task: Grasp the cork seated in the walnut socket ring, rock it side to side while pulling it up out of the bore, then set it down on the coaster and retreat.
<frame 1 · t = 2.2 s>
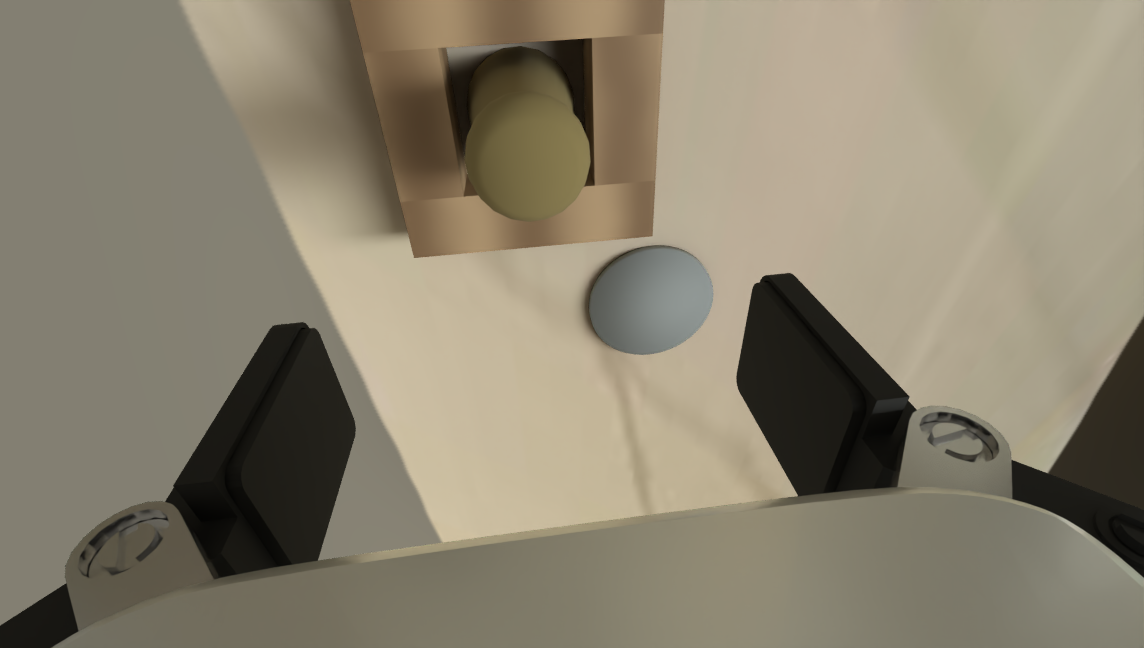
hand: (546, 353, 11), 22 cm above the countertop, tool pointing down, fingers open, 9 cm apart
cork: (520, 105, 29), resting in socket ring
coaster: (649, 301, 38), on the countertop
socket ring: (521, 106, 29), on the countertop
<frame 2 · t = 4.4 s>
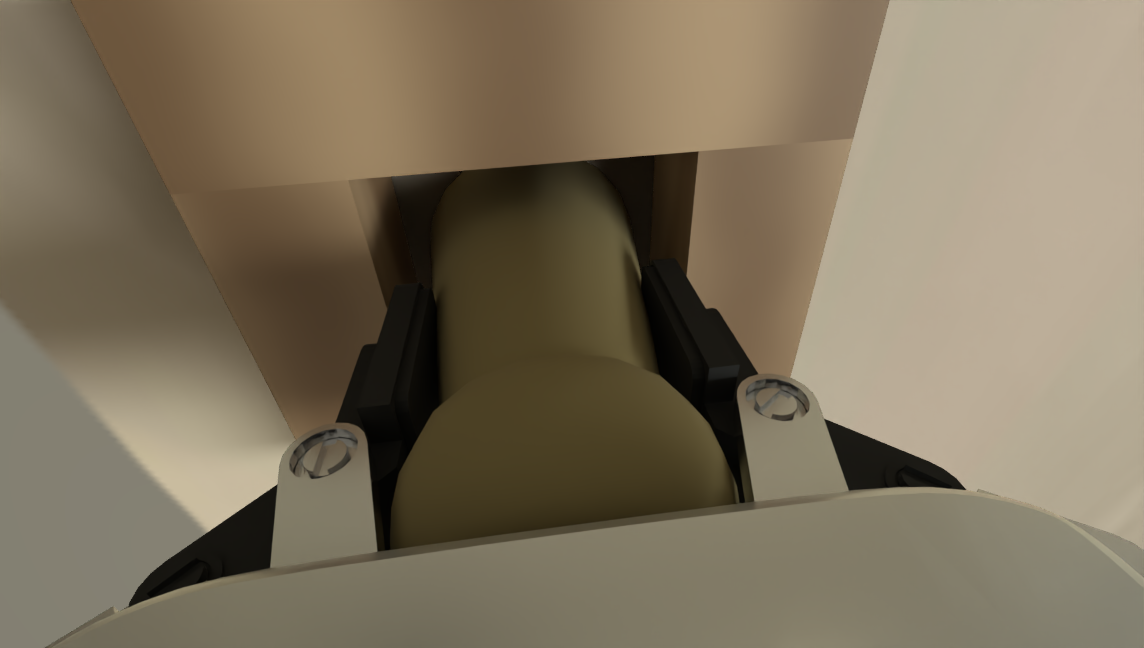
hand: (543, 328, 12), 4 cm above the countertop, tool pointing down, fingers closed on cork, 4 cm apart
cork: (532, 245, 16), resting in socket ring, touching gripper
socket ring: (533, 247, 16), on the countertop
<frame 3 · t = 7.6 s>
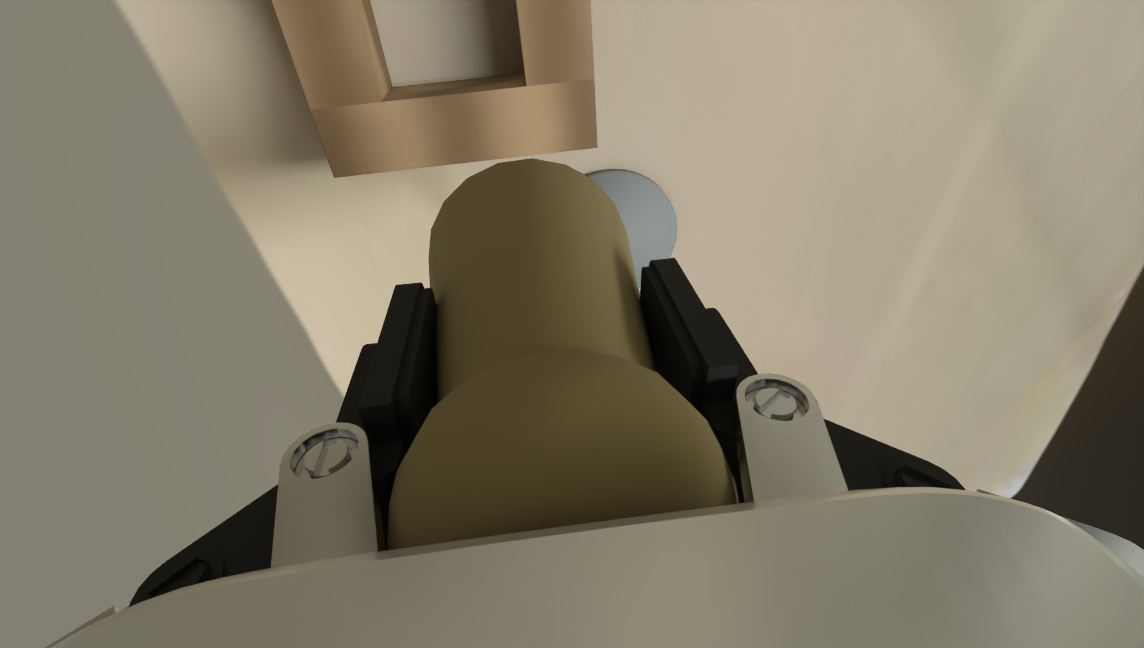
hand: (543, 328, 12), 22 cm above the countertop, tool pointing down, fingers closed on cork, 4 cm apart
cork: (530, 256, 16), point 17 cm above the countertop, touching gripper
coaster: (609, 235, 35), on the countertop
socket ring: (444, 3, 26), on the countertop
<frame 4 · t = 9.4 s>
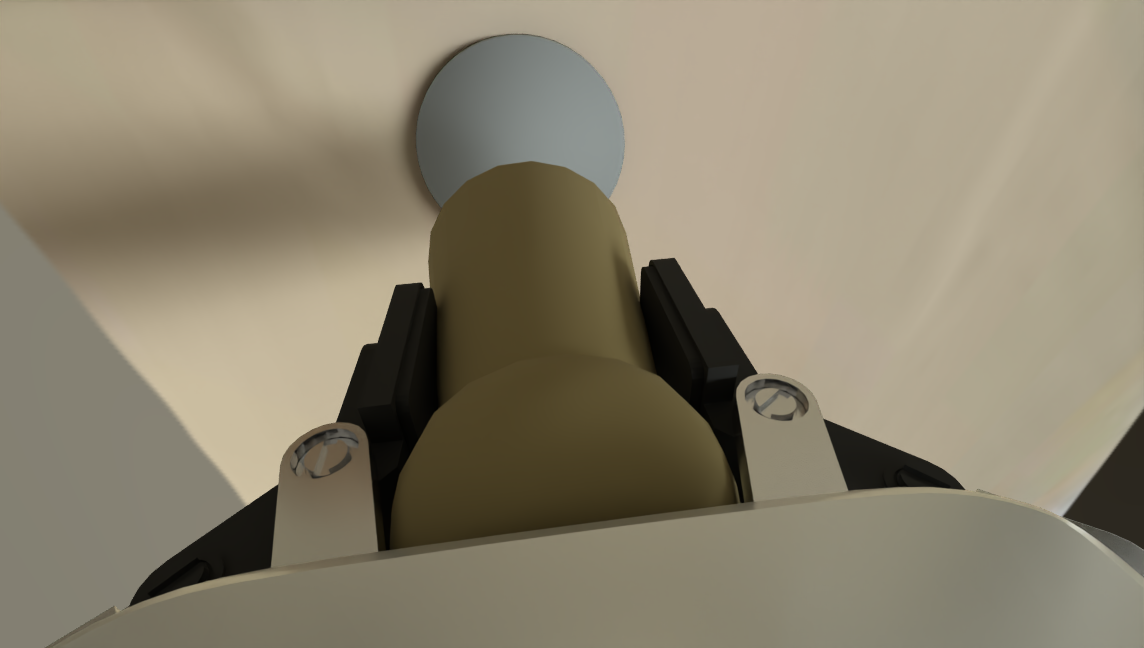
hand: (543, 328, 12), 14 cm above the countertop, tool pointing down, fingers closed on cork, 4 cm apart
cork: (530, 258, 16), point 9 cm above the countertop, touching gripper
coaster: (522, 148, 23), on the countertop
when the fingers open (6 cm above the countertop, at t = 10.9 s): cork drops 1 cm, resting on coaster.
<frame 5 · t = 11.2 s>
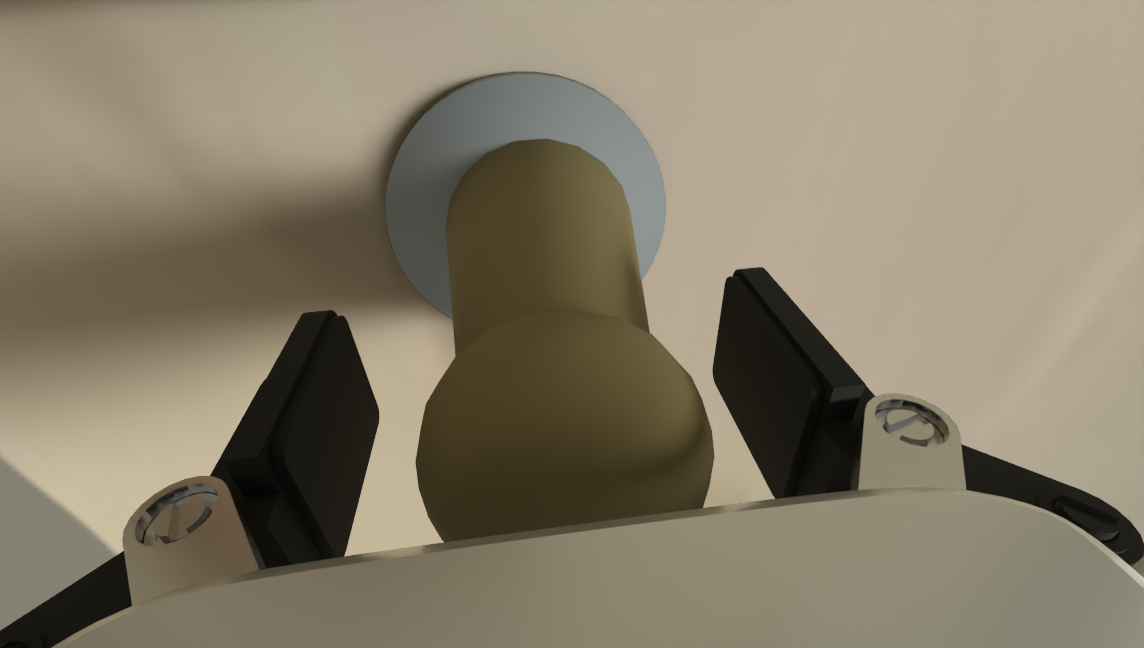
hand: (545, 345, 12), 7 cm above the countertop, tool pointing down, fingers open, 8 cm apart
cork: (539, 230, 17), resting on coaster
coaster: (529, 219, 17), on the countertop
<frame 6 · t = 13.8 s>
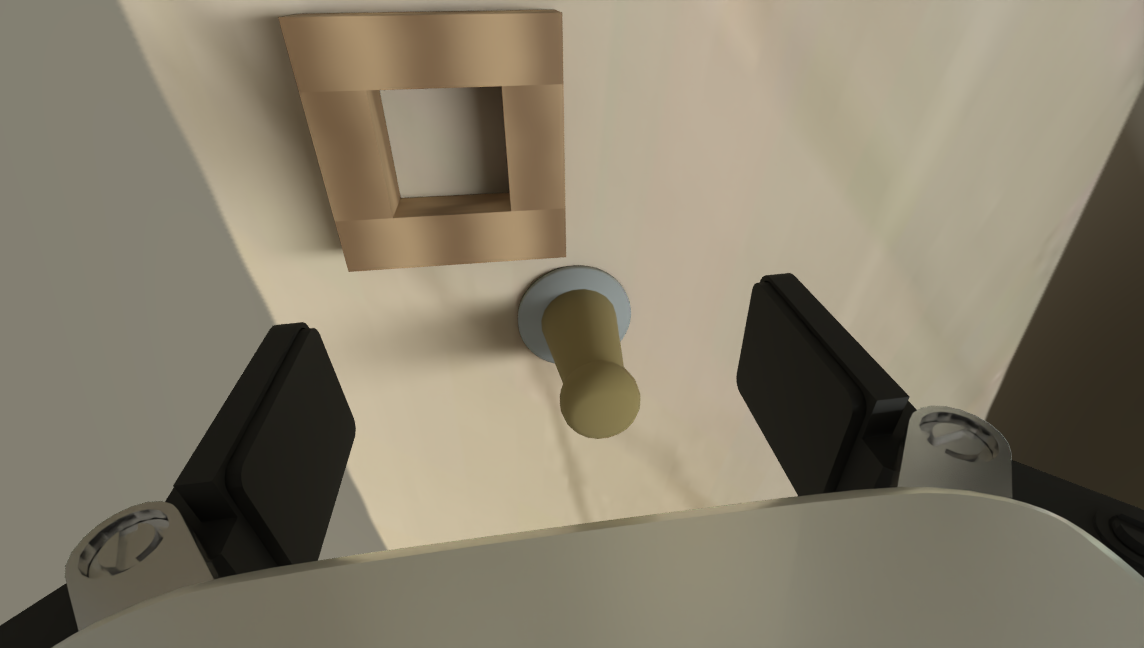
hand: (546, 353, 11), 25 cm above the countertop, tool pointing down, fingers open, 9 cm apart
cork: (578, 320, 41), resting on coaster
coaster: (574, 315, 41), on the countertop
socket ring: (448, 140, 33), on the countertop
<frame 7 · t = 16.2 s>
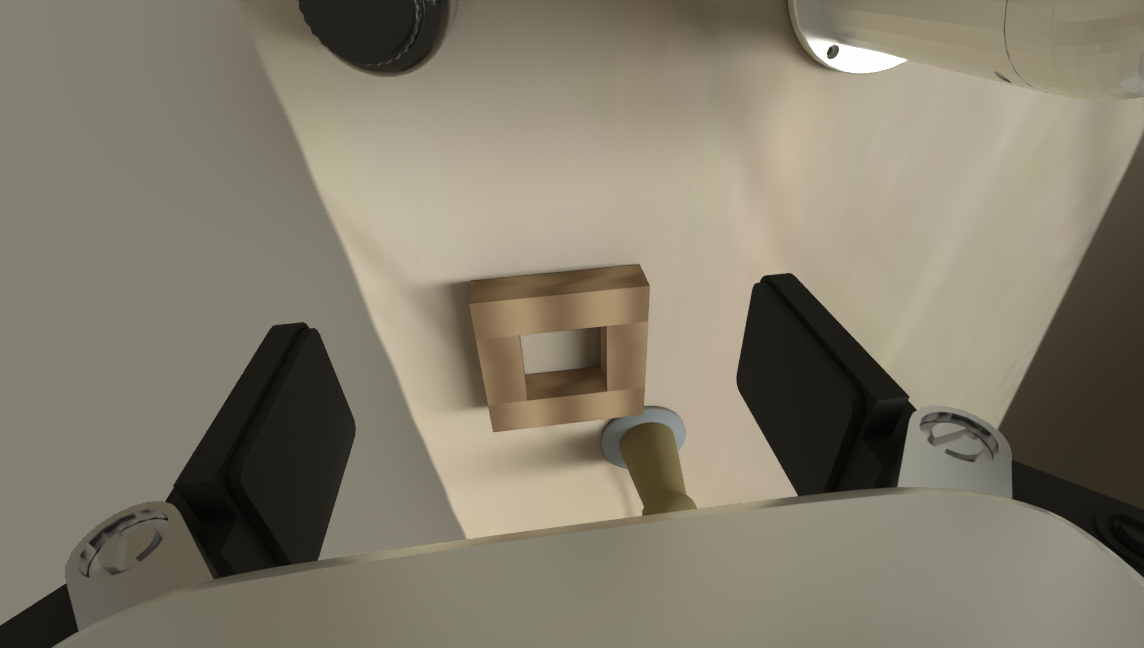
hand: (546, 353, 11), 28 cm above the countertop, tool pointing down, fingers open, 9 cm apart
cork: (646, 440, 55), resting on coaster
coaster: (642, 436, 55), on the countertop
socket ring: (561, 340, 47), on the countertop
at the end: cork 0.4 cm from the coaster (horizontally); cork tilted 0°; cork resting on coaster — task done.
